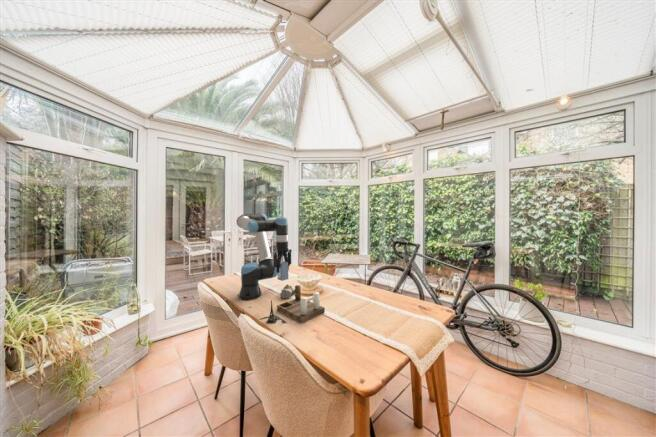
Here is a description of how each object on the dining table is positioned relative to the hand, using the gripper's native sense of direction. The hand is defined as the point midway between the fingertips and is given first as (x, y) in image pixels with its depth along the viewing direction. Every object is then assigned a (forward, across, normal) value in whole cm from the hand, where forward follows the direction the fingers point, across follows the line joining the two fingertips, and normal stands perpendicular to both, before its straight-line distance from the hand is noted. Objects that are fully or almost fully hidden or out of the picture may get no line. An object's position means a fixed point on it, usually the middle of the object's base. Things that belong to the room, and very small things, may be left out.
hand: (282, 276), depth 156 cm
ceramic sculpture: (+19, -11, -11) cm, 25 cm away
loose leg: (+2, 0, 0) cm, 2 cm away
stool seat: (+19, -1, +16) cm, 25 cm away
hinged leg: (+16, -1, +25) cm, 30 cm away
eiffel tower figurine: (+20, +17, +14) cm, 30 cm away
